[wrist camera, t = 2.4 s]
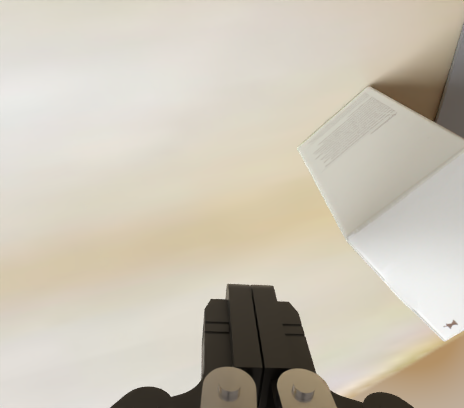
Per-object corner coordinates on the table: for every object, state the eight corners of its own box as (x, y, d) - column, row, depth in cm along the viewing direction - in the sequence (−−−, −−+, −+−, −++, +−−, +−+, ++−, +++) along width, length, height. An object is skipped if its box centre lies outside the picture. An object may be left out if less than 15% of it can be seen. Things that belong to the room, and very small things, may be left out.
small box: (435, 165, 30) (570, 269, 19) (362, 220, 32) (444, 347, 20) (368, 81, 28) (476, 140, 16) (293, 146, 30) (341, 242, 18)
